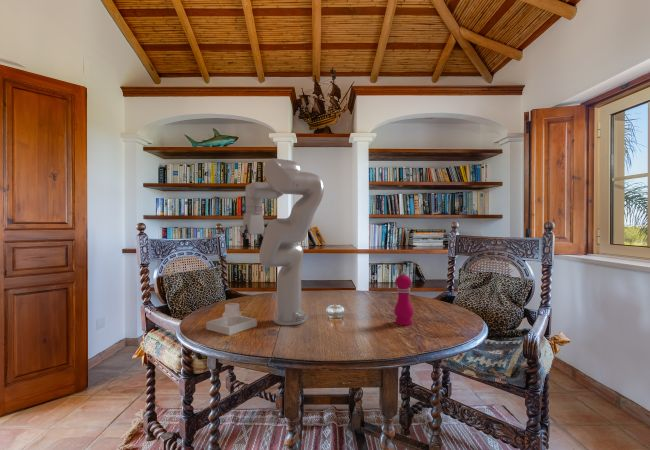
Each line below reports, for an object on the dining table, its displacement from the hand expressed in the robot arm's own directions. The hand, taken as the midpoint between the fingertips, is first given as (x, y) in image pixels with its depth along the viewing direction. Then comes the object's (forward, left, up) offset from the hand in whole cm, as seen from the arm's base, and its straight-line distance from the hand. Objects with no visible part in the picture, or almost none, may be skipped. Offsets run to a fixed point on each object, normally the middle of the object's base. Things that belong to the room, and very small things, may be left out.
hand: (254, 246), depth 160 cm
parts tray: (-17, +28, -28) cm, 43 cm away
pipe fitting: (-17, +28, -28) cm, 43 cm away
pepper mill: (-69, -12, -28) cm, 76 cm away
